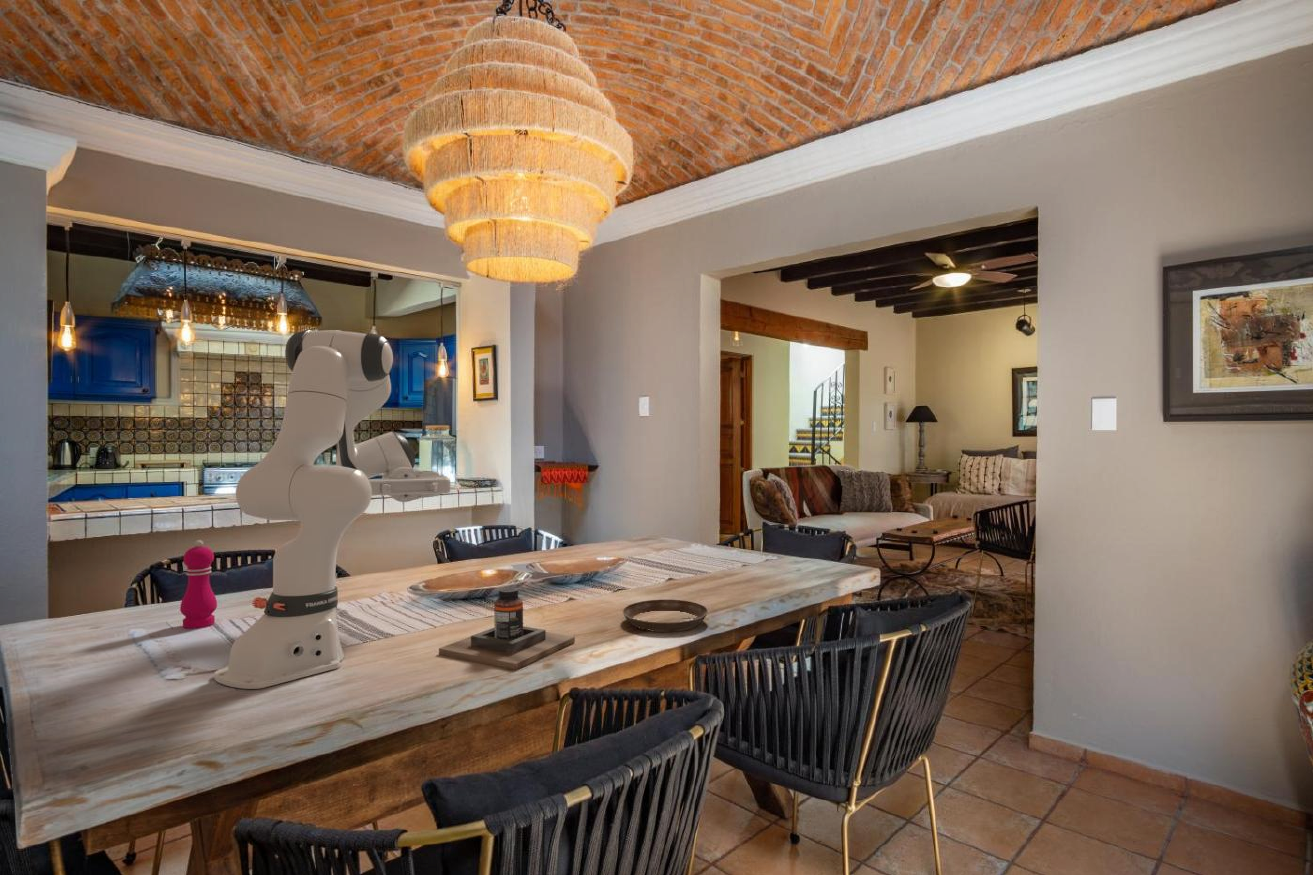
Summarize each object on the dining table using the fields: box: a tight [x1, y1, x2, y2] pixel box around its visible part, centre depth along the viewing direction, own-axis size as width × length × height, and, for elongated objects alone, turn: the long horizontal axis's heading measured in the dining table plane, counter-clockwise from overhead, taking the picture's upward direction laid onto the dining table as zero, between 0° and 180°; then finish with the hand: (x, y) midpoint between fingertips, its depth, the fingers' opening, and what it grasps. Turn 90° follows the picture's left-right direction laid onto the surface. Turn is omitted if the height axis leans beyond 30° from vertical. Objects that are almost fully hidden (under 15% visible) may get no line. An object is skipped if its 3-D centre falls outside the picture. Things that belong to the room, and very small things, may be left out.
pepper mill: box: [179, 539, 218, 629], centre depth 163 cm, size 7×7×20 cm
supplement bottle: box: [493, 586, 524, 641], centre depth 147 cm, size 6×6×11 cm
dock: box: [438, 625, 576, 671], centre depth 147 cm, size 20×20×3 cm
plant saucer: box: [622, 599, 709, 633], centre depth 168 cm, size 21×21×3 cm
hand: (412, 488), depth 168 cm, fingers open, 8 cm apart
